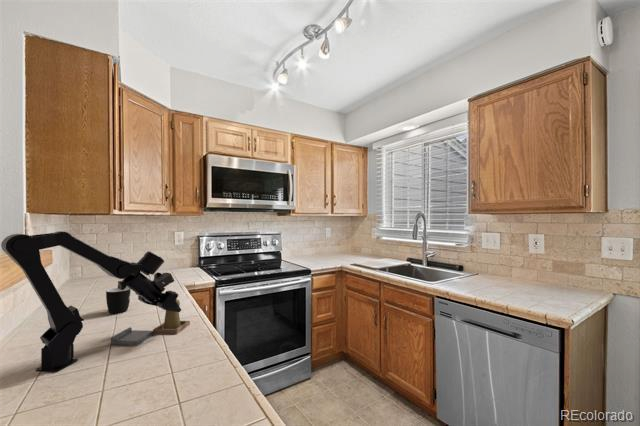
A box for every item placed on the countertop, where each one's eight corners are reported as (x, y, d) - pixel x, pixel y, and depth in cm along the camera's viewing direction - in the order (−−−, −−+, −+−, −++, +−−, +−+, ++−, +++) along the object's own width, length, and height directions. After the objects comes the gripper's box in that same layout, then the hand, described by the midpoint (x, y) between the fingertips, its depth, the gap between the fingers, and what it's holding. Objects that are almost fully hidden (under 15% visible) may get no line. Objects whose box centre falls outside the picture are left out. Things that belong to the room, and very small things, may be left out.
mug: (132, 311, 129) (132, 289, 129) (108, 316, 122) (108, 292, 123) (125, 306, 137) (125, 284, 137) (102, 310, 131) (102, 288, 131)
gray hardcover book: (136, 345, 94) (136, 337, 94) (110, 344, 95) (110, 337, 95) (153, 334, 103) (153, 327, 103) (129, 334, 103) (129, 327, 104)
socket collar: (176, 334, 104) (176, 329, 104) (153, 333, 104) (153, 329, 104) (189, 324, 113) (189, 320, 113) (167, 324, 113) (167, 320, 113)
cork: (173, 332, 105) (173, 302, 105) (159, 331, 106) (159, 301, 106) (184, 326, 111) (184, 297, 111) (170, 325, 112) (170, 297, 112)
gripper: (172, 269, 100) (201, 293, 108) (146, 264, 110) (175, 287, 119) (148, 297, 93) (181, 321, 102) (123, 289, 104) (155, 311, 113)
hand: (173, 308), depth 109 cm, fingers open, 9 cm apart
